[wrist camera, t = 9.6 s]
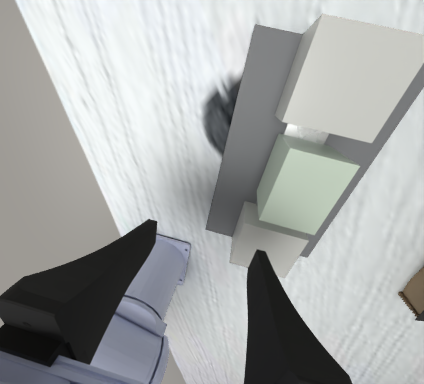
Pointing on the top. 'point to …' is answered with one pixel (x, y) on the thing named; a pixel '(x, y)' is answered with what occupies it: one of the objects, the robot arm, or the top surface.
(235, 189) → the rail board
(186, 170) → the top surface
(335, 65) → the mounted modules
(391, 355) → the top surface
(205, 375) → the top surface
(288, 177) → the block
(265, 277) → the robot arm
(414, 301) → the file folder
